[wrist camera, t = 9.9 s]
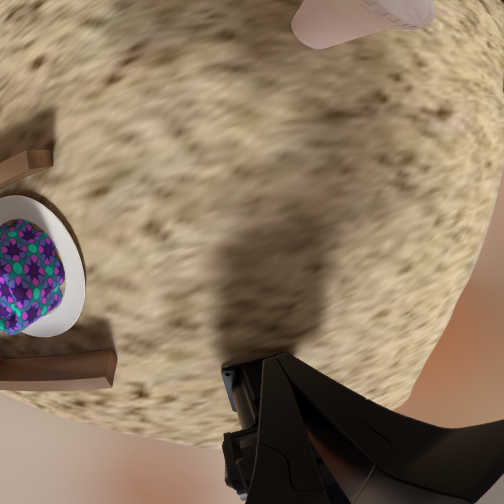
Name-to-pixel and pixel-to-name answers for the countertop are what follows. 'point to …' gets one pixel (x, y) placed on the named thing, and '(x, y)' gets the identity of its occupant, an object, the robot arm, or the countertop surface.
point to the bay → (60, 366)
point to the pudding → (37, 271)
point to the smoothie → (356, 19)
